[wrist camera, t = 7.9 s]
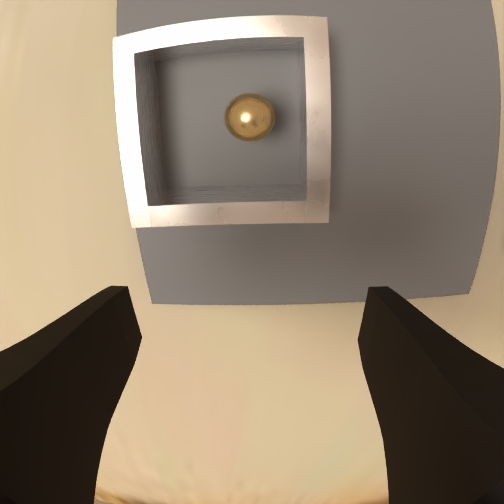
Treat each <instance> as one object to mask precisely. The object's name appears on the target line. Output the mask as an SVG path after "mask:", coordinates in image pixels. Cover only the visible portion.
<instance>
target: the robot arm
mask: <svg viewBox="0 0 504 504" xmlns="http://www.w3.org/2000/svg"><path fill="white" fill-rule="evenodd" d="M141 339H142V335H141V332H140V329H139V325H138V322H137V319H136V315H135V312H134V308H133V304H132V301H131V297H130V293H129V289H128V286H110V287H108V288H106V289H104V290H102V291H100V292H98V293H97V294H95V295H94V296H92V297H90V298H89V299H87V300H86V301H84V302H83V303H81V304H80V305H78V306H77V307H75V308H74V309H72V310H71V311H69V312H67V313H66V314H64V315H63V316H61V317H60V318H58V319H57V320H55V321H54V322H52V323H50V324H49V325H47V326H46V327H44V328H42V329H41V330H39V331H38V332H36V333H34V334H33V335H31V336H29V337H28V338H26V339H24V340H22V341H20V342H18V343H16V344H15V345H13V346H11V347H9V348H7V349H5V350H3V351H0V504H94V496H95V488H96V480H97V474H98V469H99V463H100V458H101V453H102V449H103V445H104V441H105V437H106V434H107V430H108V427H109V424H110V421H111V418H112V416H113V413H114V411H115V409H116V406H117V404H118V402H119V399H120V397H121V395H122V392H123V390H124V388H125V385H126V383H127V381H128V378H129V376H130V374H131V371H132V369H133V366H134V364H135V361H136V357H137V354H138V351H139V347H140V343H141ZM358 344H359V350H360V356H361V361H362V367H363V371H364V374H365V377H366V381H367V384H368V387H369V391H370V394H371V397H372V401H373V404H374V407H375V411H376V414H377V418H378V421H379V425H380V429H381V433H382V438H383V443H384V451H385V458H386V466H387V478H388V491H389V504H504V368H502V367H500V366H498V365H496V364H495V363H493V362H491V361H489V360H488V359H486V358H485V357H483V356H481V355H480V354H478V353H476V352H475V351H473V350H472V349H470V348H469V347H467V346H466V345H464V344H463V343H461V342H460V341H459V340H457V339H456V338H454V337H453V336H452V335H450V334H449V333H448V332H446V331H445V330H444V329H442V328H441V327H440V326H438V325H437V324H436V323H434V322H433V321H432V320H431V319H429V318H428V317H427V316H426V315H424V314H423V313H422V312H421V311H419V310H418V309H417V308H416V307H414V306H413V305H412V304H411V303H409V302H408V301H407V300H406V299H404V298H403V297H402V296H401V295H399V294H398V293H397V292H395V291H394V290H392V289H391V288H389V287H388V286H378V287H368V292H367V298H366V303H365V308H364V313H363V318H362V323H361V327H360V332H359V336H358Z"/></svg>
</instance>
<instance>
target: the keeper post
mask: <svg viewBox="0 0 504 504" xmlns="http://www.w3.org/2000/svg"><path fill="white" fill-rule="evenodd" d="M224 122H225V125H226V128H227V130H228V131H229V132H230V134H231V135H232V136H234V137H235V138H237V139H239V140H241V141H245V142H254V141H258V140H261V139H263V138H264V137H266V136H267V135H268V134H269V133H270V132H271V130H272V128H273V126H274V123H275V112H274V109H273V107H272V105H271V103H270V102H269V101H268V100H267V99H266V98H264V97H263V96H261V95H258V94H254V93H245V94H241V95H239V96H237V97H235V98H234V99H232V100H231V101H230V103H229V104H228V105H227V107H226V110H225V113H224Z"/></svg>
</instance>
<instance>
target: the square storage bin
mask: <svg viewBox="0 0 504 504" xmlns="http://www.w3.org/2000/svg"><path fill="white" fill-rule="evenodd" d="M251 50H297V63H298V89H299V131H300V184H273V185H235V186H211V187H192V188H176V189H167V185H166V176H165V167H164V157H163V147H162V136H161V124H160V111H159V97H158V80H157V61H160V60H166V59H172V58H178V57H185V56H193V55H201V54H210V53H221V52H234V51H251ZM113 67H114V88H115V103H116V116H117V127H118V137H119V146H120V154H121V162H122V170H123V177H124V184H125V190H126V197H127V203H128V209H129V215H130V220H131V226H132V228H141V227H165V226H192V225H226V224H274V223H329V204H330V176H331V84H330V57H329V39H328V24H327V17H318V16H293V15H267V16H242V17H228V18H217V19H208V20H200V21H193V22H186V23H179V24H173V25H168V26H162V27H157V28H152V29H148V30H143V31H139V32H135V33H130V34H126V35H123V36H119V37H115V38H113Z"/></svg>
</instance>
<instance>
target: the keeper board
mask: <svg viewBox="0 0 504 504" xmlns="http://www.w3.org/2000/svg"><path fill="white" fill-rule="evenodd" d="M267 15H293V16H318V17H327V24H328V39H329V57H330V84H331V176H330V204H329V223H274V224H226V225H192V226H165V227H141V228H136V231H137V237H138V242H139V247H140V252H141V257H142V261H143V266H144V270H145V275H146V279H147V284H148V288H149V292H150V296H151V300H152V304H186V305H281V304H319V303H345V302H366V298H367V292H368V287H378V286H388V287H389V288H391V289H392V290H394V291H395V292H397V293H398V294H399V295H401V296H402V297H403V298H404V299H413V298H426V297H438V296H449V295H460V294H469V292H470V289H471V286H472V283H473V280H474V276H475V273H476V269H477V266H478V262H479V258H480V255H481V251H482V247H483V242H484V238H485V234H486V229H487V225H488V220H489V215H490V209H491V204H492V198H493V192H494V185H495V178H496V170H497V160H498V150H499V136H500V109H501V94H500V67H499V54H498V44H497V35H496V28H495V21H494V15H493V9H492V4H491V0H117V37H119V36H123V35H126V34H130V33H135V32H139V31H143V30H148V29H152V28H157V27H162V26H168V25H173V24H179V23H186V22H193V21H200V20H208V19H217V18H228V17H242V16H267ZM157 80H158V97H159V111H160V124H161V136H162V147H163V157H164V167H165V176H166V185H167V189H176V188H192V187H211V186H235V185H273V184H300V131H299V89H298V63H297V50H251V51H234V52H221V53H210V54H201V55H193V56H185V57H178V58H172V59H166V60H160V61H157ZM245 93H254V94H258V95H261V96H263V97H264V98H266V99H267V100H268V101H269V102H270V103H271V105H272V107H273V109H274V112H275V123H274V126H273V128H272V130H271V132H270V133H269V134H268V135H267V136H266V137H264V138H263V139H261V140H258V141H254V142H245V141H241V140H239V139H237V138H235V137H234V136H232V135H231V134H230V132H229V131H228V130H227V128H226V125H225V122H224V113H225V110H226V107H227V105H228V104H229V103H230V101H231V100H232V99H234V98H235V97H237V96H239V95H241V94H245Z"/></svg>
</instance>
